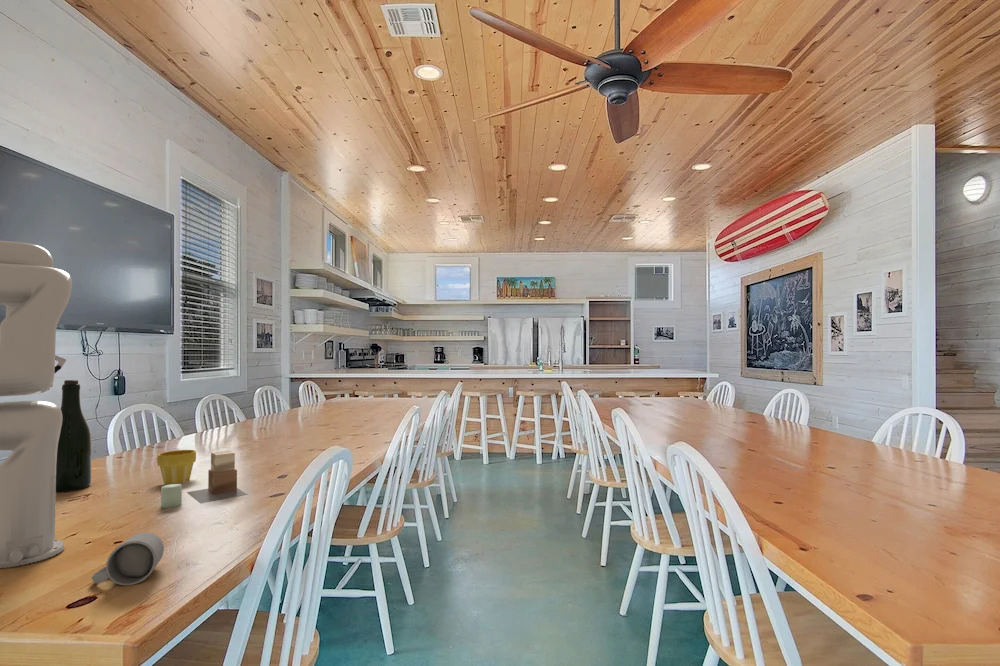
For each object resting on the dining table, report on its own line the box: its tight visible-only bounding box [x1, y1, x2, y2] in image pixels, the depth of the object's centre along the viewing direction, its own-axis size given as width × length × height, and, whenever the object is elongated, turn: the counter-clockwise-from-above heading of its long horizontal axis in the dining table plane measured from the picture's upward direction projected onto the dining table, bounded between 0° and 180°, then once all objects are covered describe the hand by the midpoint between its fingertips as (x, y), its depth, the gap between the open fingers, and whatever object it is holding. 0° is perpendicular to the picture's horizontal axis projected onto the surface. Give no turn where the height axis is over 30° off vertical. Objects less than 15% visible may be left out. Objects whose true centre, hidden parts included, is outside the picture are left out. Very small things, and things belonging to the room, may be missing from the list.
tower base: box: [207, 468, 238, 495], centre depth 153 cm, size 6×6×6 cm
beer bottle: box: [56, 379, 92, 493], centre depth 161 cm, size 10×10×33 cm
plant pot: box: [156, 449, 197, 486], centre depth 165 cm, size 10×10×10 cm
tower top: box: [210, 449, 236, 473], centre depth 153 cm, size 5×5×5 cm
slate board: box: [186, 487, 248, 504], centre depth 150 cm, size 15×12×1 cm
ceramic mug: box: [91, 532, 165, 586], centre depth 97 cm, size 11×8×8 cm
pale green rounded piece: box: [160, 483, 183, 509], centre depth 139 cm, size 5×5×6 cm
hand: (23, 390), depth 141 cm, fingers open, 9 cm apart
